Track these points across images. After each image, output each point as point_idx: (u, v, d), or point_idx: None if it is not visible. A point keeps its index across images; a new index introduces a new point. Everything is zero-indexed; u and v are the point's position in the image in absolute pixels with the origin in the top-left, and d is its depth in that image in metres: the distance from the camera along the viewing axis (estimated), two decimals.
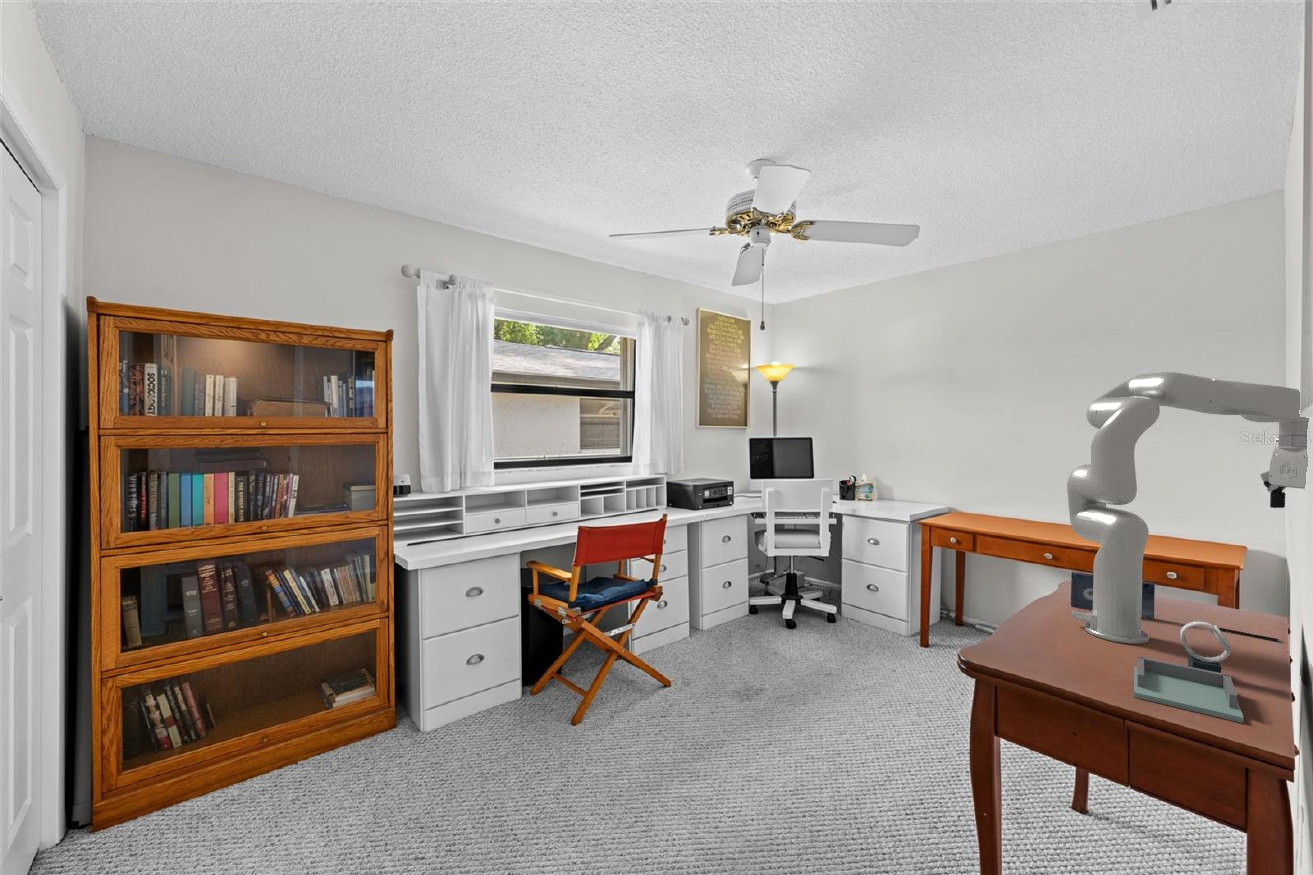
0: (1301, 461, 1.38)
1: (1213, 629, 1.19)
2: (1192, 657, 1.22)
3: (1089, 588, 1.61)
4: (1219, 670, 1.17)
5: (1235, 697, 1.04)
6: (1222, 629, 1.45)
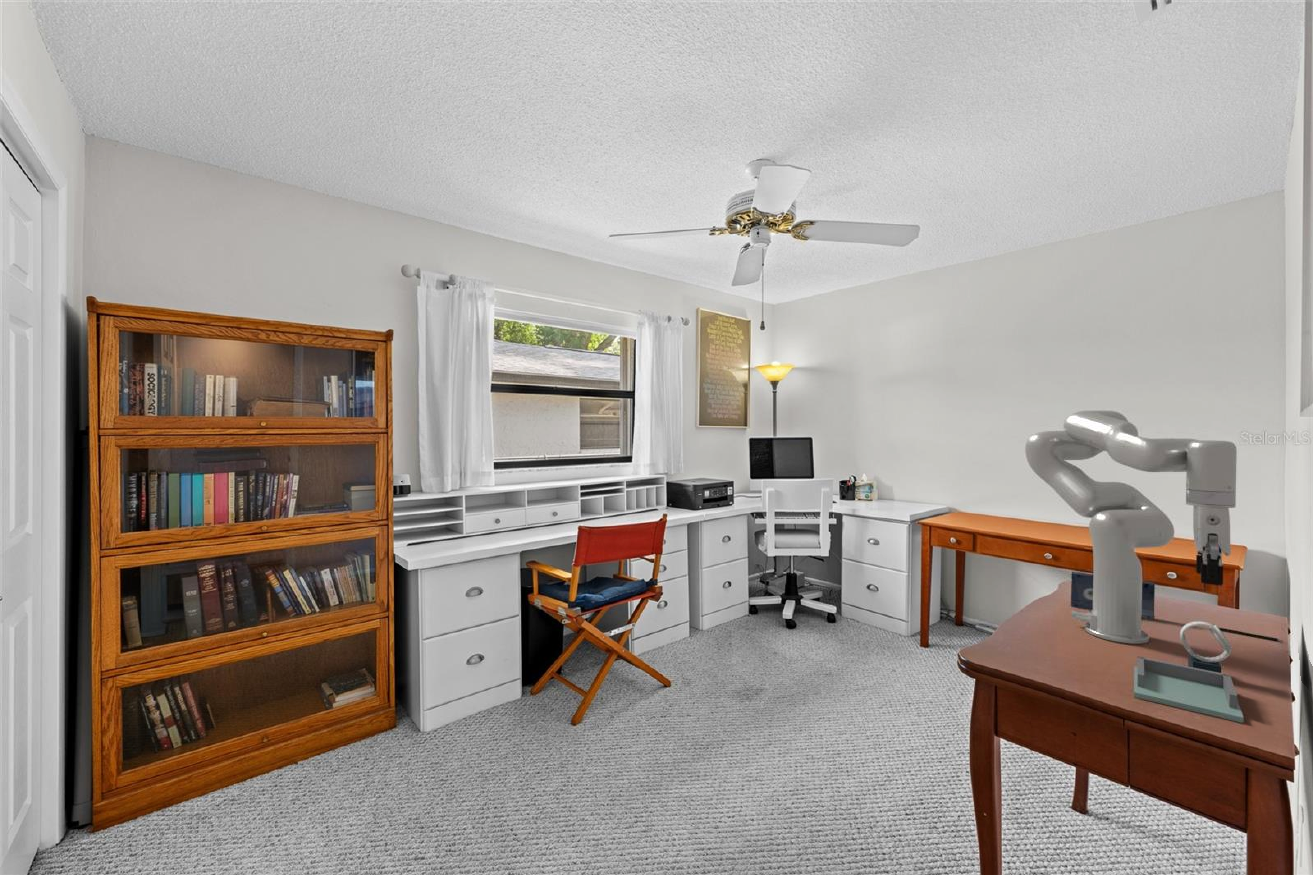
0: None
1: (1213, 629, 1.19)
2: (1192, 657, 1.22)
3: (1089, 588, 1.61)
4: (1219, 670, 1.17)
5: (1235, 697, 1.04)
6: (1222, 629, 1.45)
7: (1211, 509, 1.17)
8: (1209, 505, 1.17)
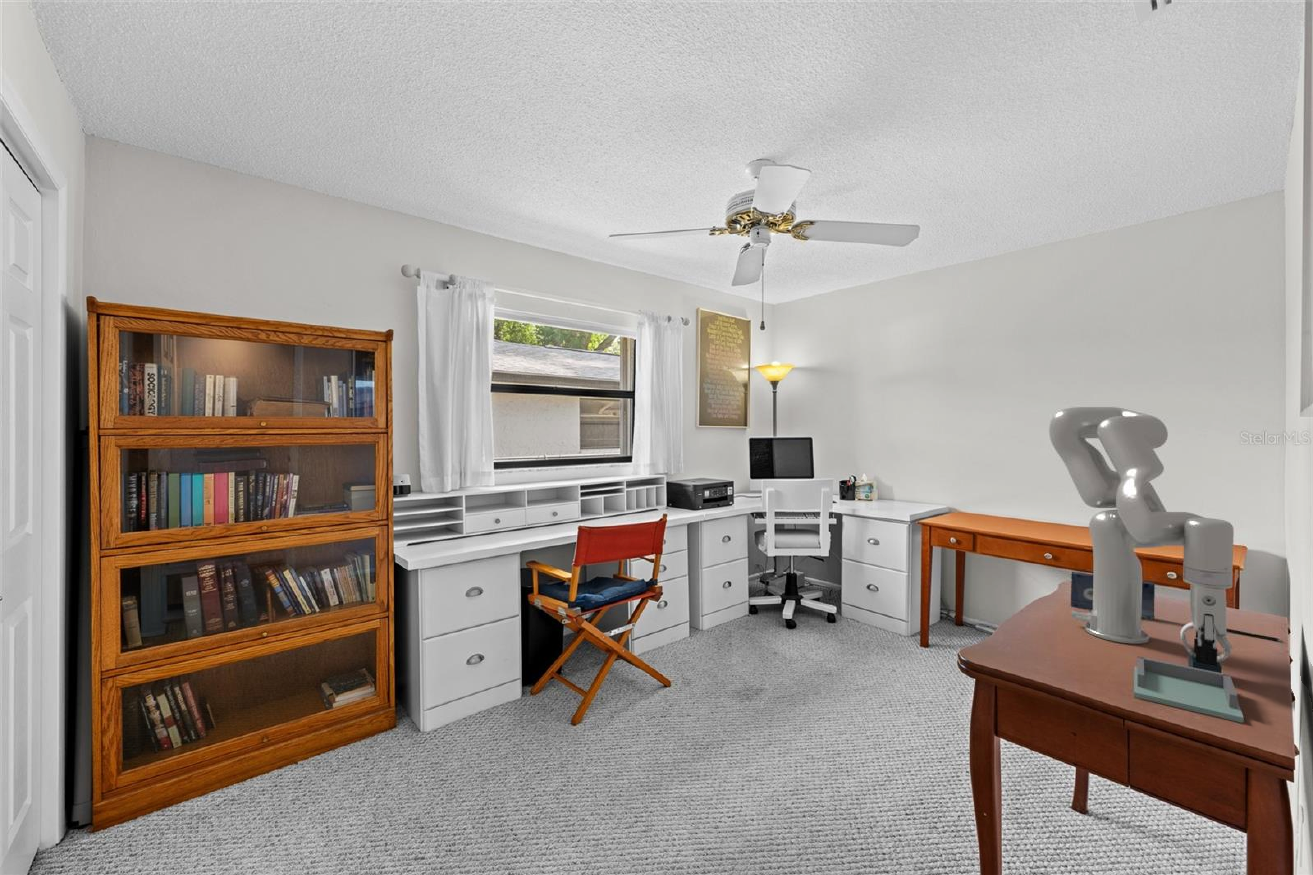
0: None
1: None
2: (1192, 657, 1.22)
3: (1089, 588, 1.61)
4: (1219, 670, 1.17)
5: (1235, 697, 1.04)
6: None
7: (1207, 589, 1.17)
8: (1205, 585, 1.18)
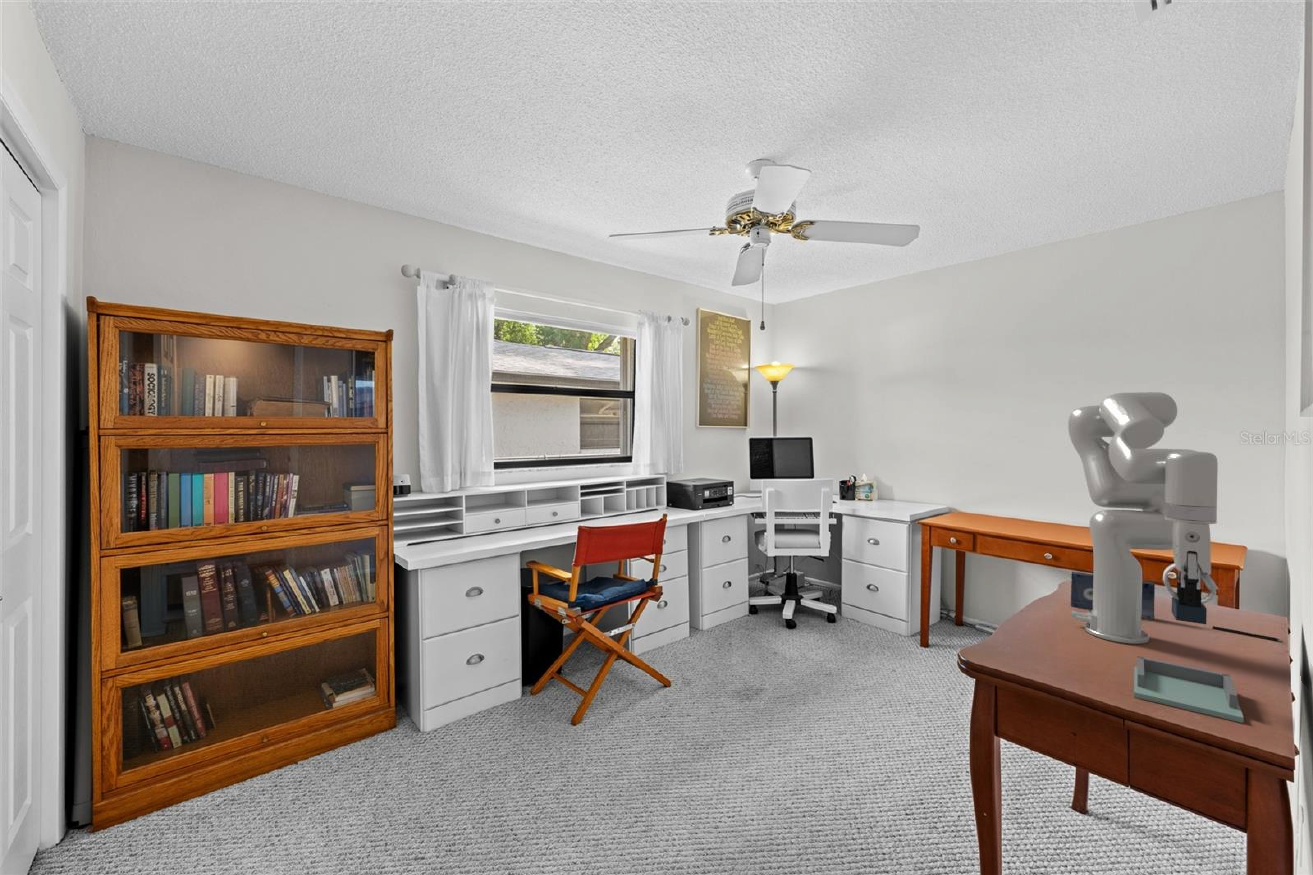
0: None
1: None
2: (1176, 600, 1.14)
3: (1089, 588, 1.61)
4: (1204, 612, 1.09)
5: (1235, 697, 1.04)
6: (1222, 629, 1.45)
7: (1190, 525, 1.09)
8: (1188, 521, 1.10)
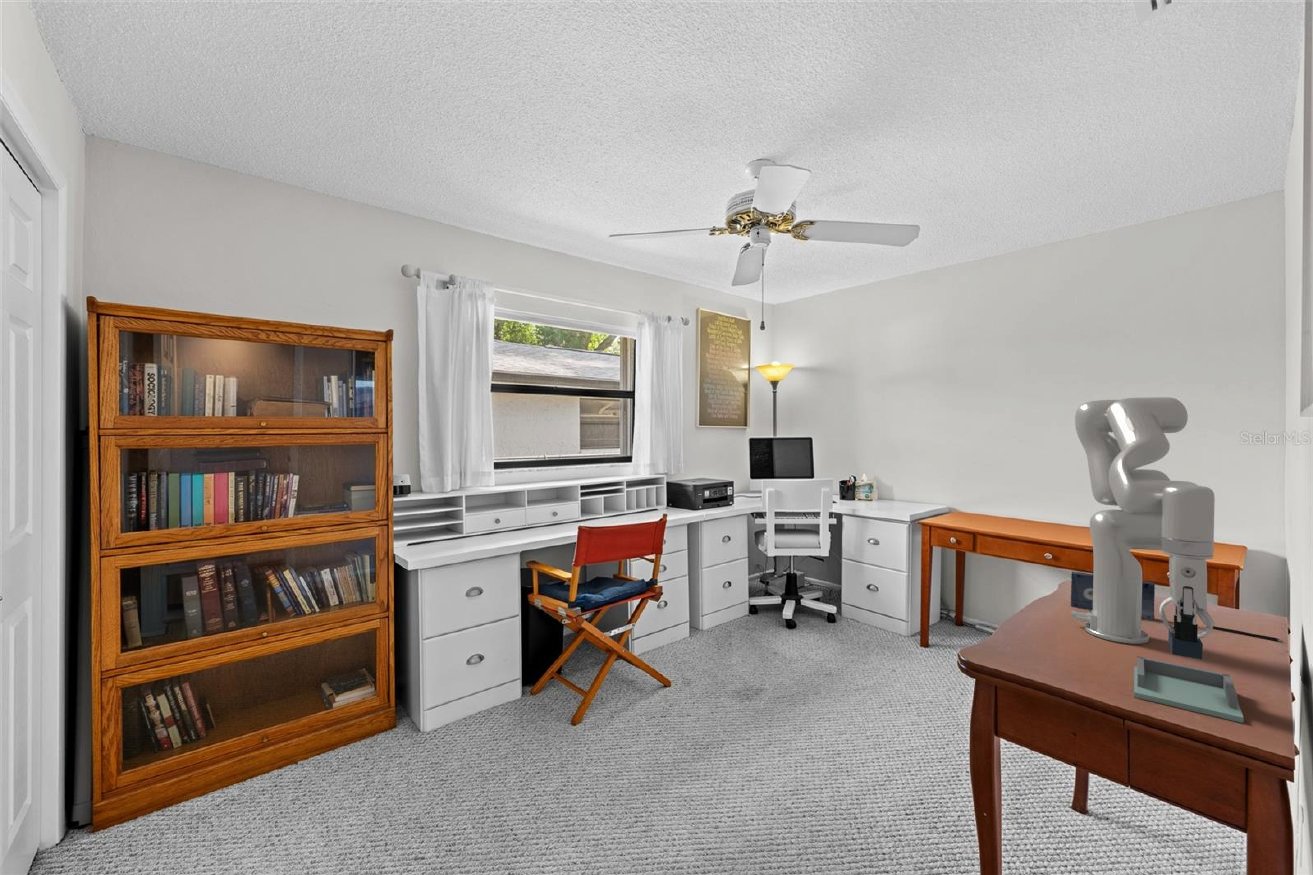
0: None
1: None
2: (1172, 634, 1.13)
3: (1089, 588, 1.61)
4: (1200, 647, 1.09)
5: (1235, 697, 1.04)
6: (1222, 629, 1.45)
7: (1186, 560, 1.09)
8: (1185, 555, 1.09)
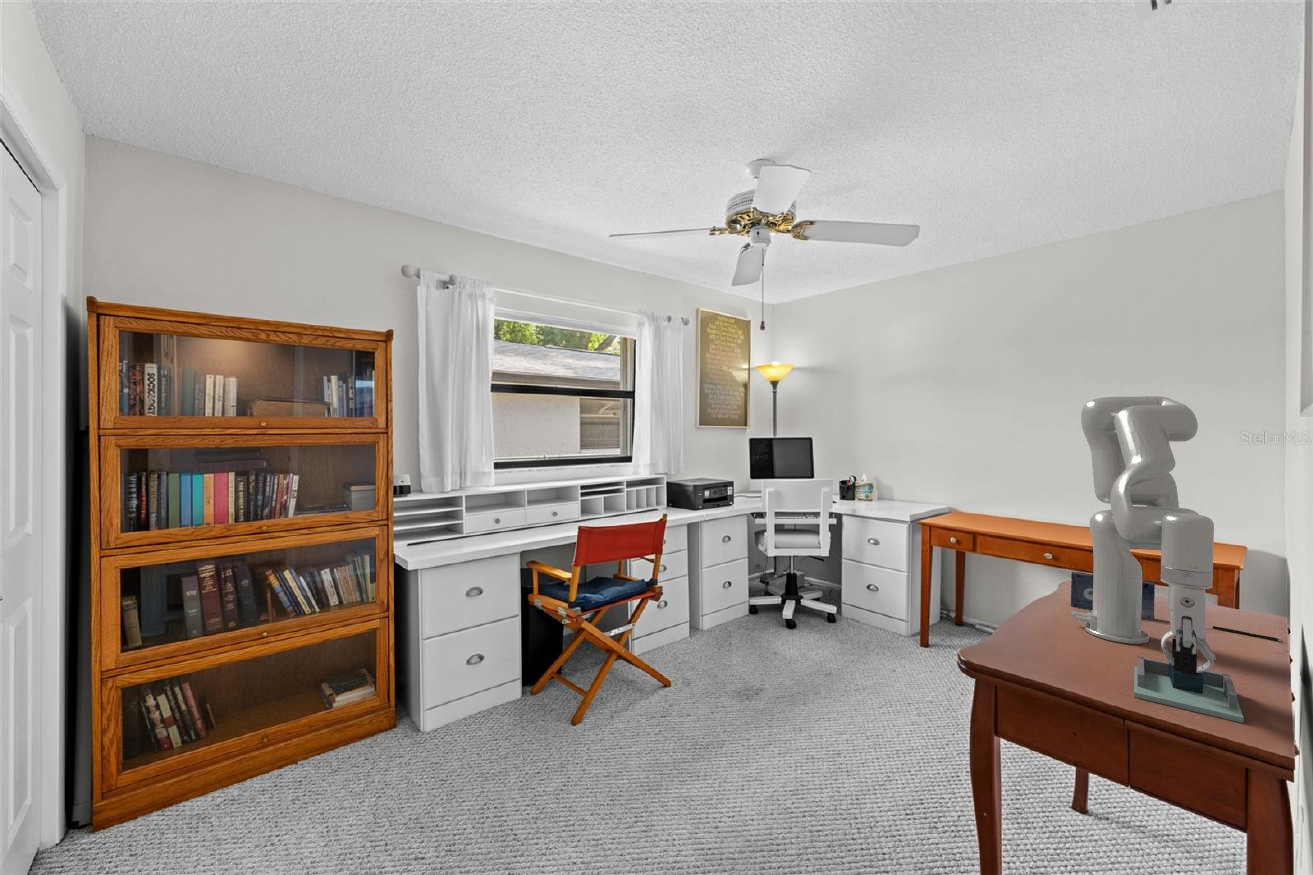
0: None
1: (1196, 639, 1.10)
2: (1173, 666, 1.14)
3: (1089, 588, 1.61)
4: (1201, 682, 1.10)
5: (1235, 697, 1.04)
6: (1222, 628, 1.45)
7: (1185, 590, 1.09)
8: (1184, 585, 1.09)
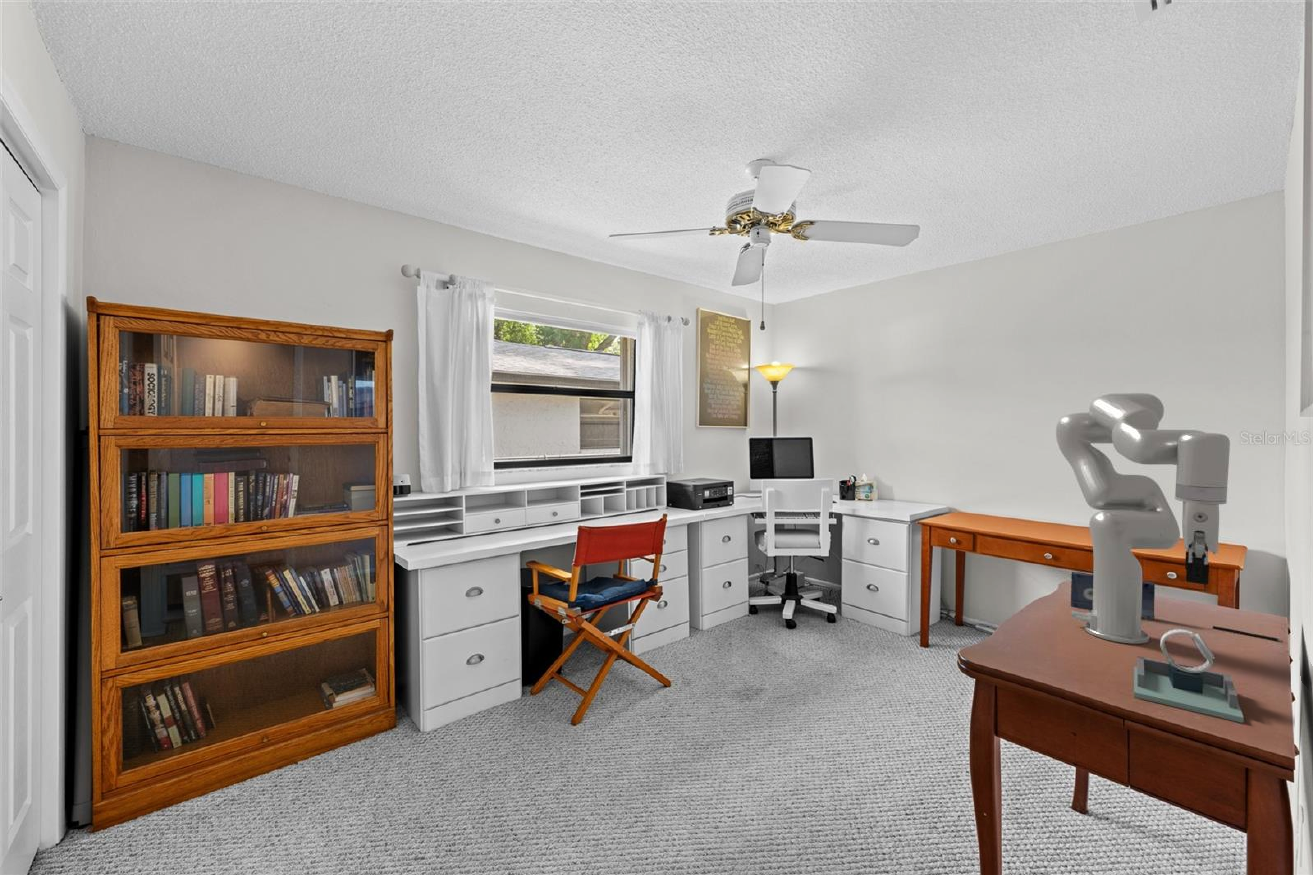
0: None
1: (1194, 638, 1.11)
2: (1173, 667, 1.15)
3: (1089, 588, 1.61)
4: (1201, 681, 1.10)
5: (1235, 697, 1.04)
6: (1222, 628, 1.45)
7: (1199, 505, 1.11)
8: (1197, 501, 1.12)
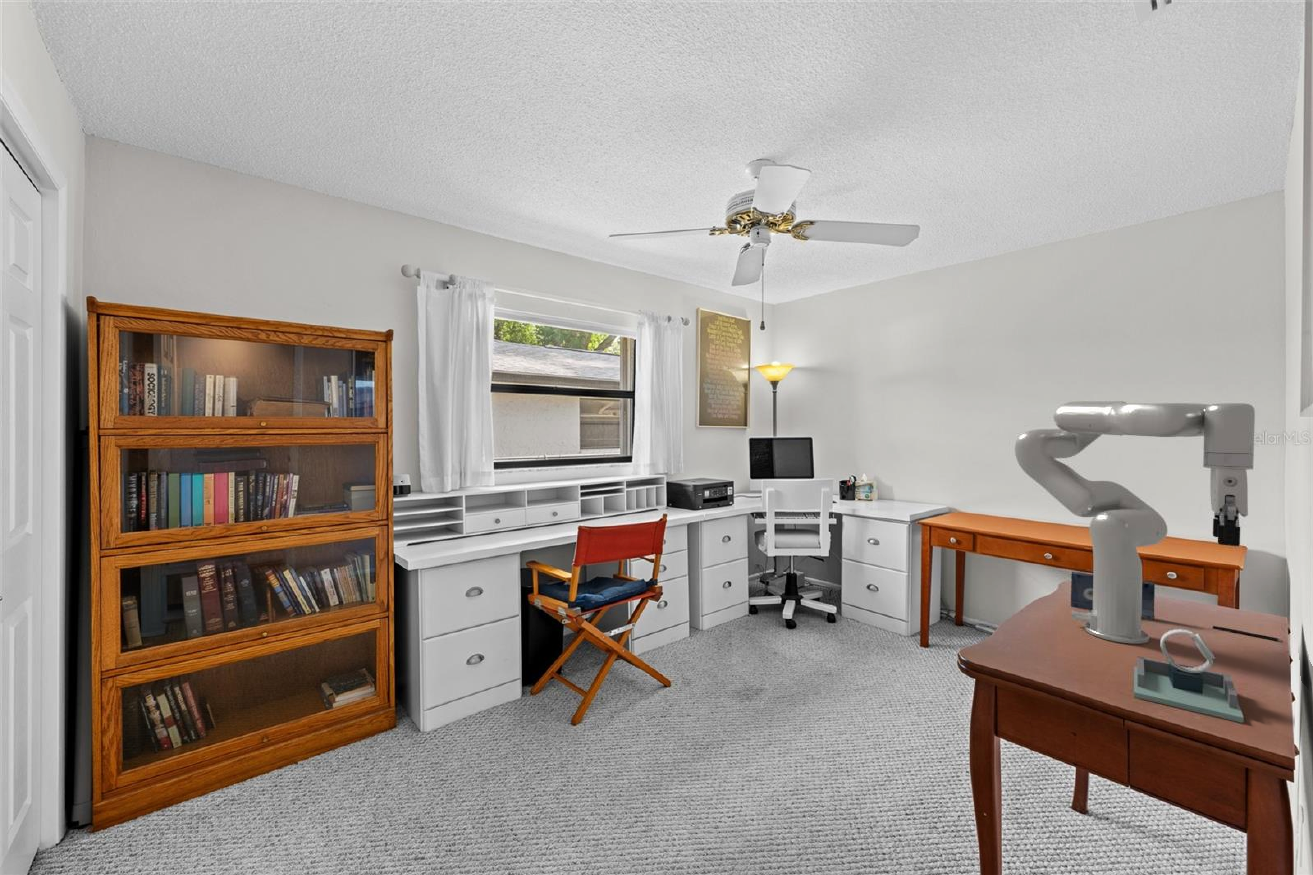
0: None
1: (1194, 638, 1.11)
2: (1173, 667, 1.15)
3: (1089, 588, 1.61)
4: (1201, 681, 1.10)
5: (1235, 697, 1.04)
6: (1222, 628, 1.45)
7: (1228, 471, 1.17)
8: (1226, 467, 1.18)
